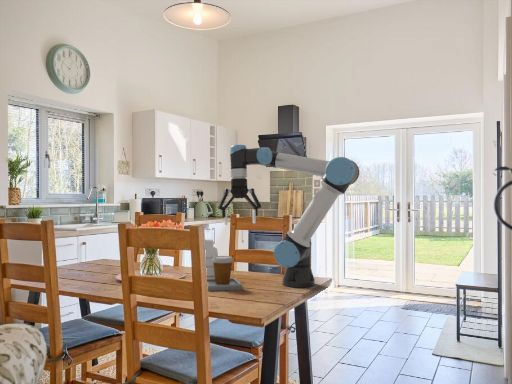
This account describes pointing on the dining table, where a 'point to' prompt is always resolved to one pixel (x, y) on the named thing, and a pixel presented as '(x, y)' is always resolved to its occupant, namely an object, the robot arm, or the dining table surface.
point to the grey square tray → (232, 285)
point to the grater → (210, 258)
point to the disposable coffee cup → (222, 269)
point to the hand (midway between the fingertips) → (240, 224)
